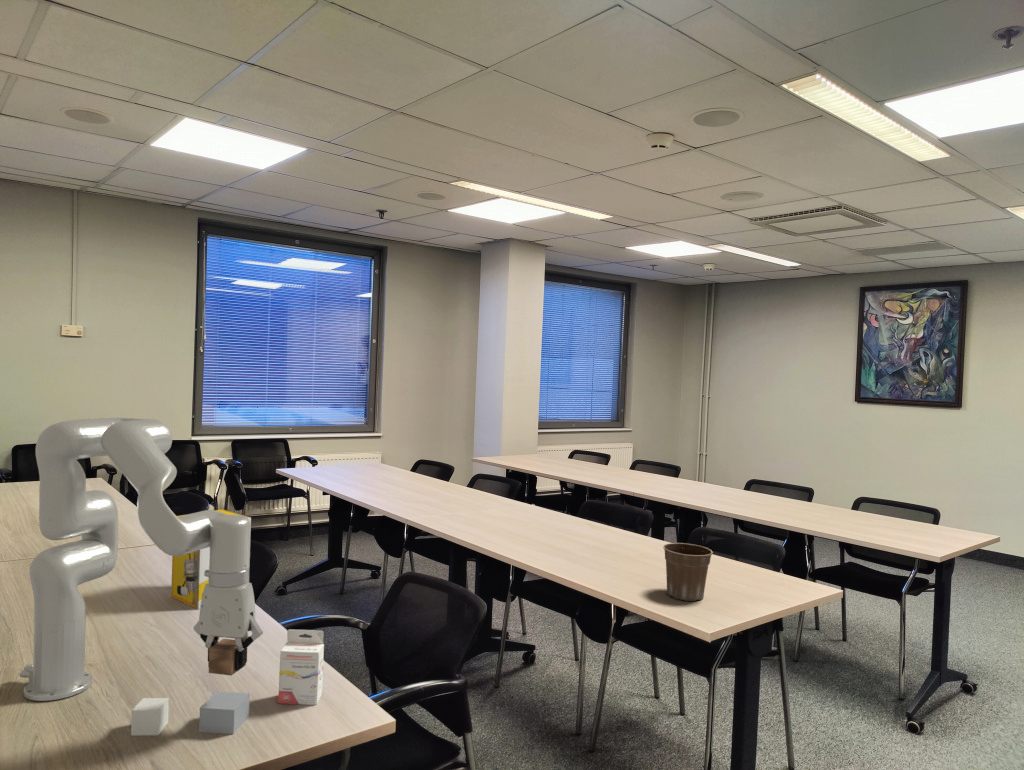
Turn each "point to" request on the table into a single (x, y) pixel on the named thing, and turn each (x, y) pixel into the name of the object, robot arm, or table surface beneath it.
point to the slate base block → (224, 712)
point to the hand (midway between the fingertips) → (227, 665)
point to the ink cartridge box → (301, 668)
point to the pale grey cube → (150, 716)
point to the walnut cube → (223, 657)
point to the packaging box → (192, 573)
